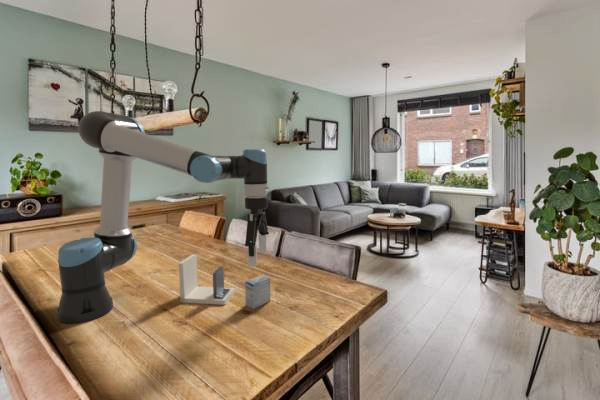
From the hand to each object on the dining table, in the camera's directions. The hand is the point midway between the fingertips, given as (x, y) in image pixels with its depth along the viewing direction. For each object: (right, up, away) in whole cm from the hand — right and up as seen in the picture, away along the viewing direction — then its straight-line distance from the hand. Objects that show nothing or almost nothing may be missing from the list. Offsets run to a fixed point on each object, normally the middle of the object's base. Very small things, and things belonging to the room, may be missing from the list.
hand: (258, 259), depth 109 cm
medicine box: (0, -16, +2) cm, 16 cm away
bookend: (-14, -14, +6) cm, 20 cm away
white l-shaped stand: (-19, -15, +7) cm, 25 cm away
